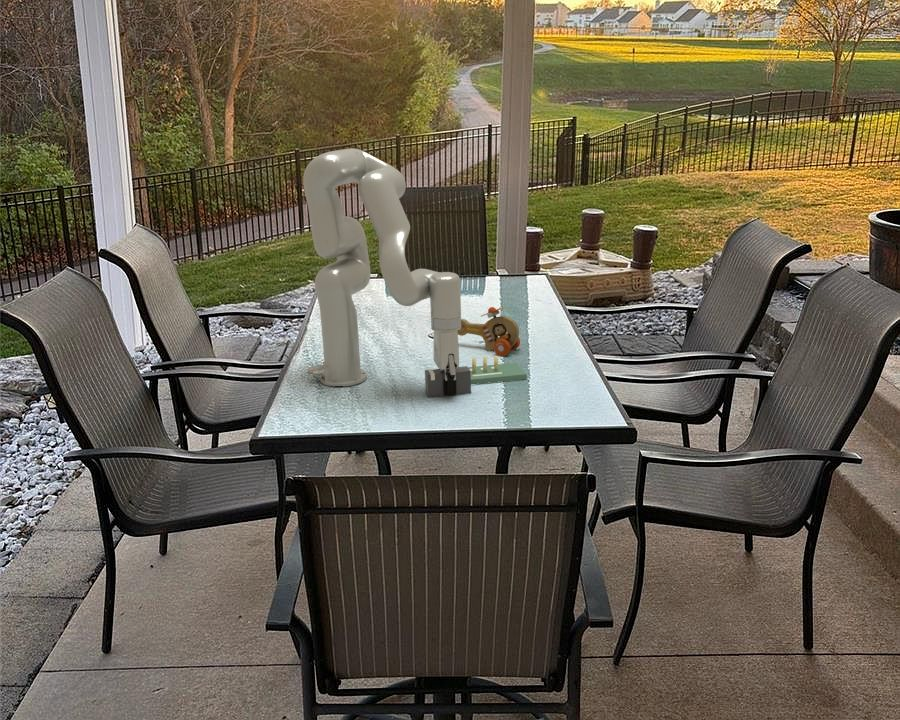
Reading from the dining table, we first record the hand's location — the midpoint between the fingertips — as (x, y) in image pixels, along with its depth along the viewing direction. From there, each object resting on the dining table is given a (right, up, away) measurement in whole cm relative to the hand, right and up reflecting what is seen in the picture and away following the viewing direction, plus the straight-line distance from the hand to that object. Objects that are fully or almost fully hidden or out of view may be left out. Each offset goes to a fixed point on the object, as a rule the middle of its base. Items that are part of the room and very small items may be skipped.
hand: (448, 391), depth 223 cm
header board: (+10, +3, +11) cm, 15 cm away
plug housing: (0, -1, 0) cm, 0 cm away
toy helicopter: (+12, +11, +34) cm, 37 cm away
